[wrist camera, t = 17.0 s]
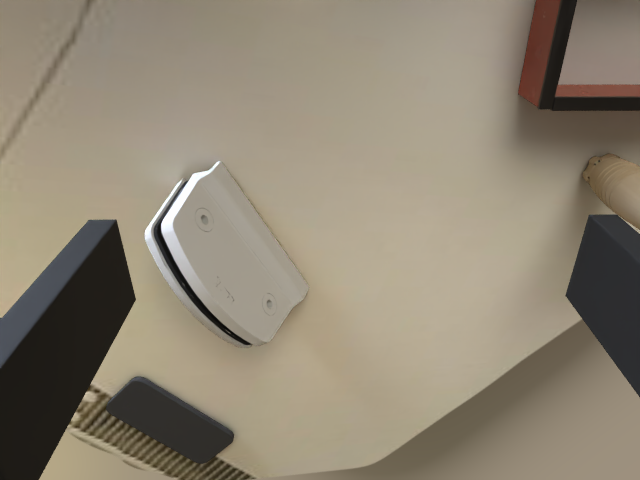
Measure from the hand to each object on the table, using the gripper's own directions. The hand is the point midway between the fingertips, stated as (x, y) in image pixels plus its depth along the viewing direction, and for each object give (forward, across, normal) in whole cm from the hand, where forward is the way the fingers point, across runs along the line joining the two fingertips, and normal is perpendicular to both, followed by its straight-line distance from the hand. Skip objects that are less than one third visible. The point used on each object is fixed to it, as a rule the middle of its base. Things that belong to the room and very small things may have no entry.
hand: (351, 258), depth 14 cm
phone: (+30, -20, -42) cm, 55 cm away
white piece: (+31, -9, -17) cm, 36 cm away
